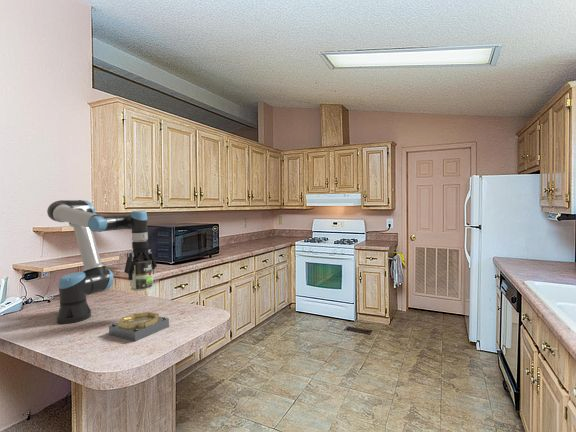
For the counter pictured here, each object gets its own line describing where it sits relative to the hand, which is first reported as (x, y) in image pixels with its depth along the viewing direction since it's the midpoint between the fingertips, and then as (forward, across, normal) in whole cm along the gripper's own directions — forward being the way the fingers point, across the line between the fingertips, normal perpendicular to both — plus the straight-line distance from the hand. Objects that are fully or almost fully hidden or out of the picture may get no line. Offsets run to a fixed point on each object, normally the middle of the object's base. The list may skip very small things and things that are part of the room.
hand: (141, 283), depth 168 cm
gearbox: (+17, -13, -15) cm, 26 cm away
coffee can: (+3, 0, 0) cm, 3 cm away
